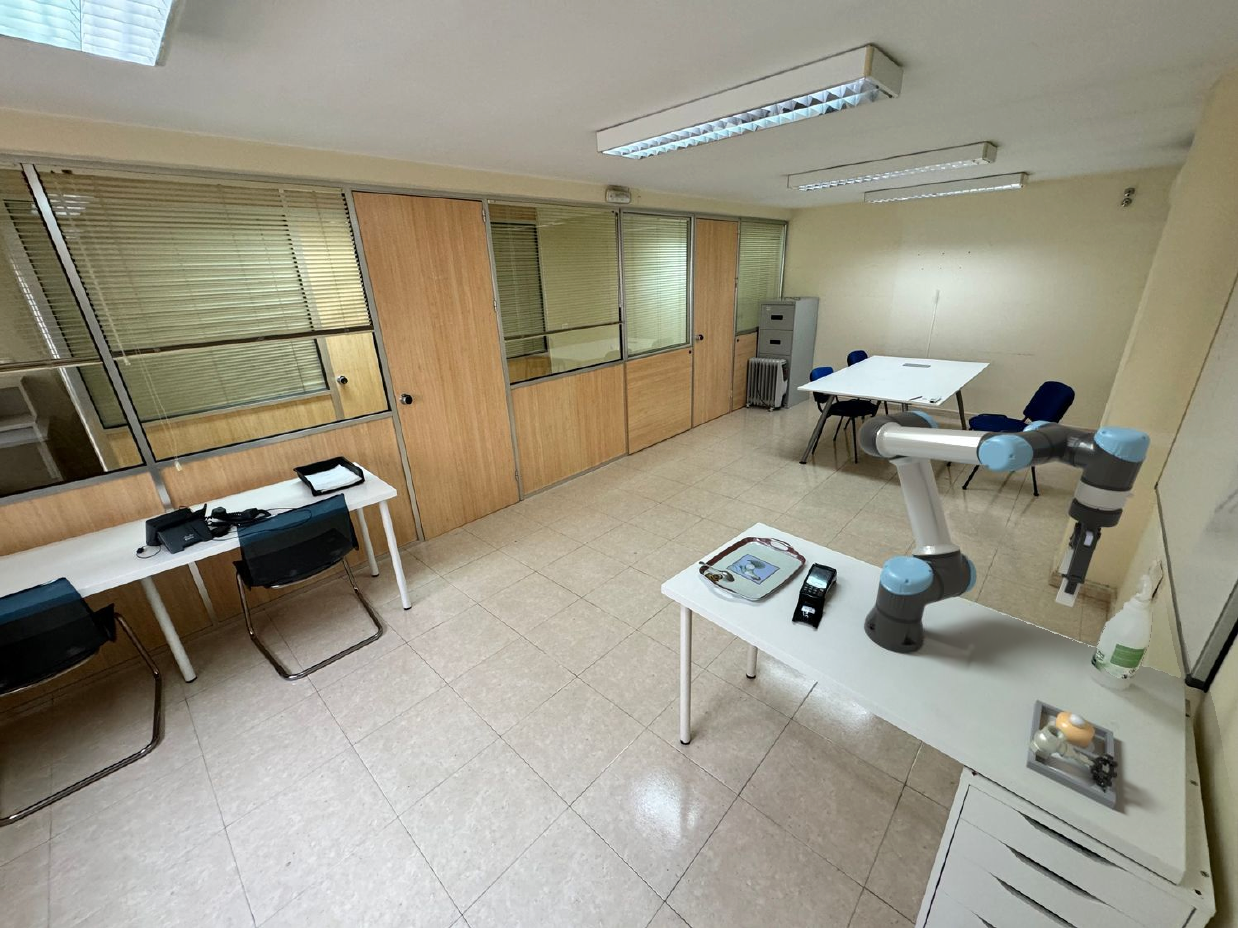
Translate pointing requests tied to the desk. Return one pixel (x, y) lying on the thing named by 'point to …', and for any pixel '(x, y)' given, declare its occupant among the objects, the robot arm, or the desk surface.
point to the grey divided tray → (1072, 761)
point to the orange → (1075, 729)
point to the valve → (1072, 754)
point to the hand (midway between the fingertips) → (1065, 588)
